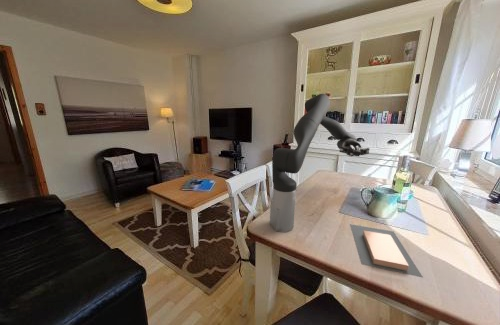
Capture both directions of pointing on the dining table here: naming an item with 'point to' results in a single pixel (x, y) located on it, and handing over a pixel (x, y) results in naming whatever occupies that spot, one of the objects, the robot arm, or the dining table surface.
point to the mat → (366, 256)
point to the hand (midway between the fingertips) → (357, 153)
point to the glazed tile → (384, 250)
